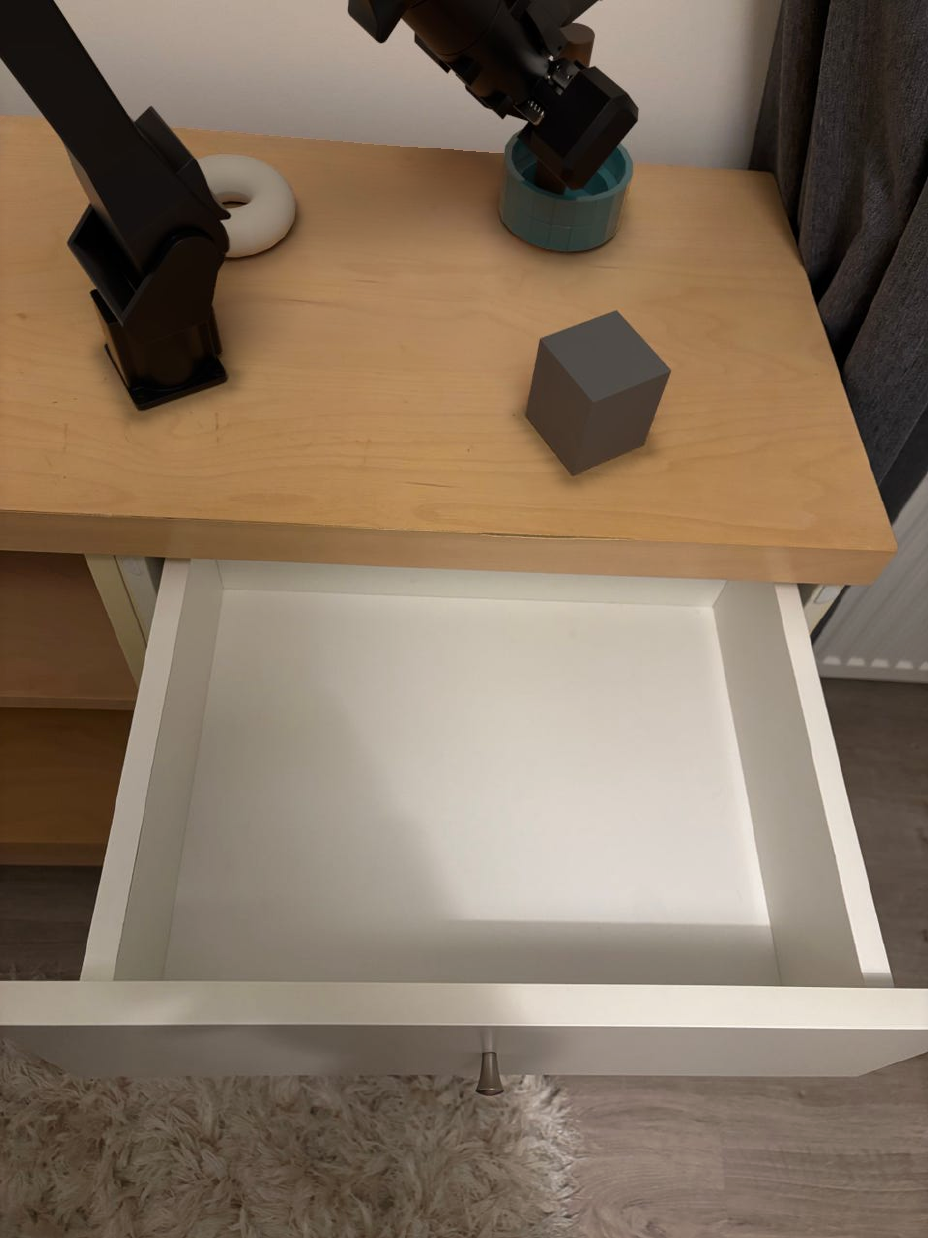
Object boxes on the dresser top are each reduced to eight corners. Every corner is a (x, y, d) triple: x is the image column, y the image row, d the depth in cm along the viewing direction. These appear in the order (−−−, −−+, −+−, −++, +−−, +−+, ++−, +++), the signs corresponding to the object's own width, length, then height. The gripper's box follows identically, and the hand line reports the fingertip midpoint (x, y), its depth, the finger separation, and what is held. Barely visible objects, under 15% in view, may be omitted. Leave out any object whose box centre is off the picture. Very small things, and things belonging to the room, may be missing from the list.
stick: (559, 207, 71) (590, 46, 60) (528, 198, 71) (552, 36, 61) (568, 188, 72) (599, 27, 62) (537, 179, 72) (562, 18, 62)
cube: (572, 476, 60) (593, 402, 54) (524, 415, 63) (539, 338, 57) (644, 445, 62) (672, 370, 56) (595, 387, 65) (616, 309, 59)
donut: (240, 169, 74) (139, 219, 70) (235, 128, 71) (129, 178, 67) (324, 229, 71) (223, 285, 67) (322, 189, 68) (217, 245, 64)
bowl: (540, 271, 70) (550, 215, 66) (474, 197, 74) (480, 138, 70) (642, 236, 73) (658, 179, 69) (574, 166, 77) (585, 108, 73)
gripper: (654, -49, 48) (736, 103, 61) (461, -190, 55) (571, -26, 68) (516, 133, 52) (620, 239, 65) (352, -20, 59) (476, 104, 73)
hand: (572, 133), depth 68 cm, fingers closed on stick, 2 cm apart
